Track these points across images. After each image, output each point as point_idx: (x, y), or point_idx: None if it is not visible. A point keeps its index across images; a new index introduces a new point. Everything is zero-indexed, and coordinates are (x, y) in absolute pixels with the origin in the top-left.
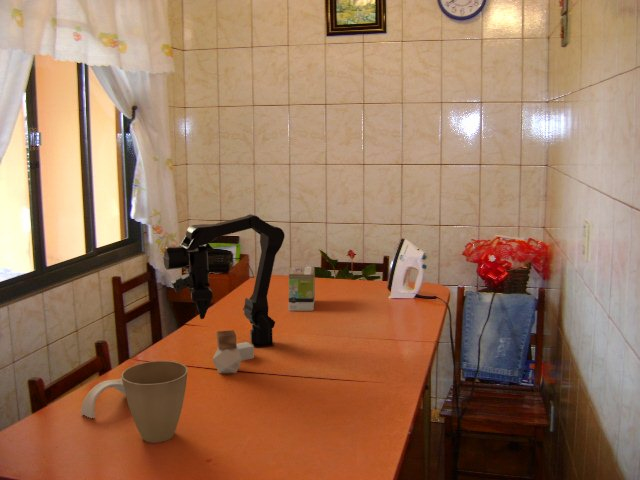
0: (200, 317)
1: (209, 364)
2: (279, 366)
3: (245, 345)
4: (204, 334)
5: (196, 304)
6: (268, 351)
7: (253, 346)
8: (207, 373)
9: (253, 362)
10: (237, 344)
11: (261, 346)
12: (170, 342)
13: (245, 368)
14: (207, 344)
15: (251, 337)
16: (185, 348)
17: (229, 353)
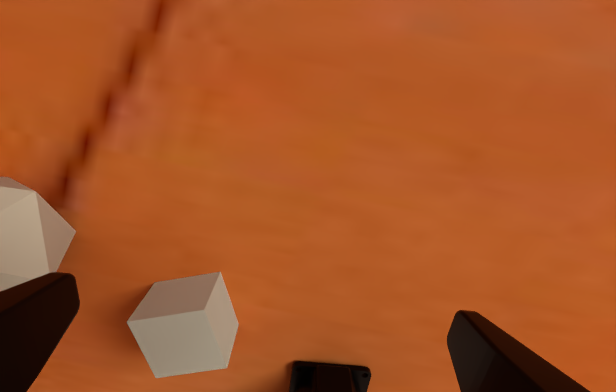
0: (30, 284)
1: (138, 162)
2: (66, 379)
3: (174, 354)
4: (590, 228)
5: (530, 381)
6: (235, 386)
7: (156, 376)
8: (9, 127)
9: (126, 321)
10: (198, 330)
11: (290, 381)
12: (591, 26)
13: None
14: (432, 211)
15: (323, 389)
16: (431, 94)
17: None
